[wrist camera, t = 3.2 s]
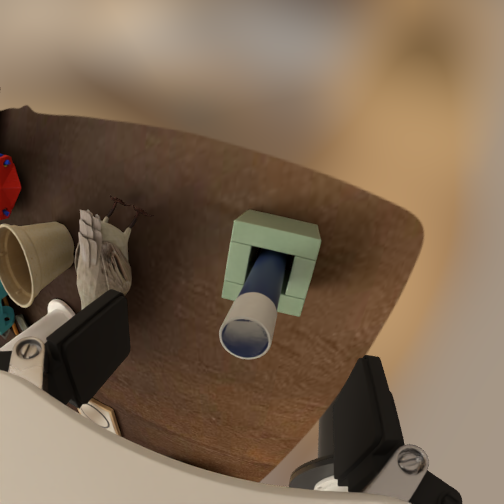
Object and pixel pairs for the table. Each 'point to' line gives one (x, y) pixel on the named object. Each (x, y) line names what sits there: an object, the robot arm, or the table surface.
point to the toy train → (8, 186)
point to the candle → (45, 323)
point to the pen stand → (277, 239)
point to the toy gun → (5, 333)
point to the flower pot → (33, 258)
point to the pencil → (9, 318)
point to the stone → (21, 322)
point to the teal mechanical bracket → (5, 312)
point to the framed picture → (100, 415)
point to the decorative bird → (102, 256)
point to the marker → (255, 308)
